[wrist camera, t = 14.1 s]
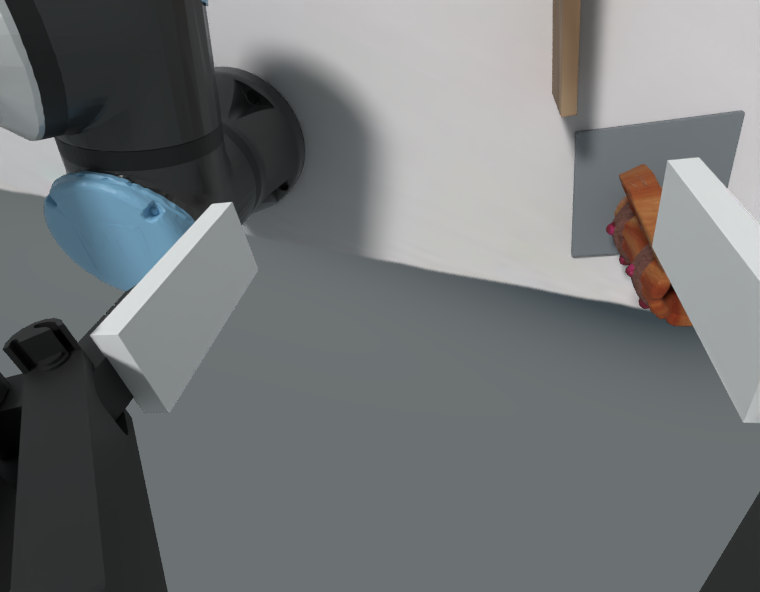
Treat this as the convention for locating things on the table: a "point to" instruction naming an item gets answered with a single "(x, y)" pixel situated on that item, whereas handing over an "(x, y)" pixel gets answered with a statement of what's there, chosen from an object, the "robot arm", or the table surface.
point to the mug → (644, 245)
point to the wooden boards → (566, 55)
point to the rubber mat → (636, 147)
